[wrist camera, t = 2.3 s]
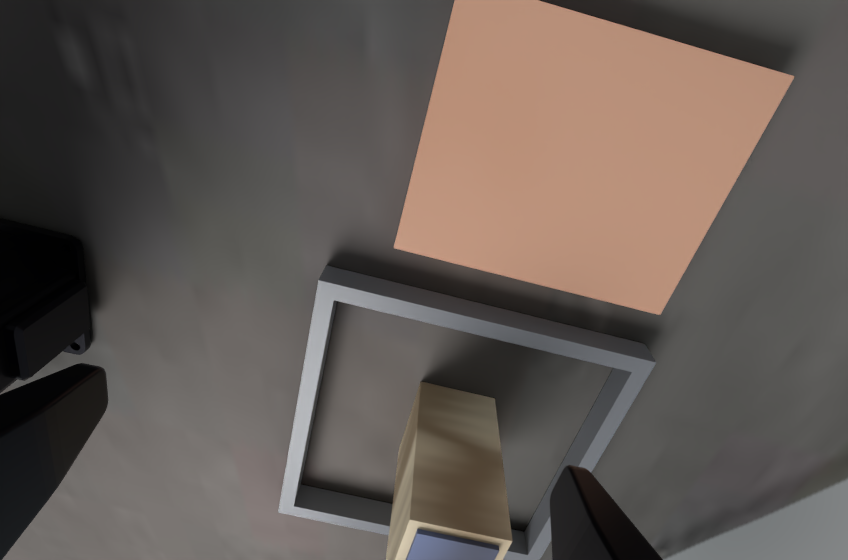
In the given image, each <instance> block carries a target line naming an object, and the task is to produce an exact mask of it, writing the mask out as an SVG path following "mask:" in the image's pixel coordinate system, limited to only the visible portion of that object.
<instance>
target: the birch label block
mask: <svg viewBox="0 0 848 560" xmlns="http://www.w3.org/2000/svg"><path fill="white" fill-rule="evenodd" d="M511 543H512V533H511V525H510V517H509V509H508V501H507V493H506V485H505V477H504V469H503V460H502V452H501V444H500V436H499V428H498V420H497V412H496V404H495V398H490V397H486V396H482V395H477V394H473V393H469V392H465V391H460V390H456V389H452V388H447V387H443V386H439V385H434V384H430V383H426V382H420V385H419V388H418V392H417V395H416V398H415V401H414V404H413V407H412V410H411V413H410V417H409V420H408V423H407V426H406V429H405V432H404V435H403V439H402V442H401V445H400V448H399V454H398V463H397V471H396V480H395V488H394V496H393V505H392V513H391V521H390V530H389V538H388V547H387V555H386V560H503V558H504V556H505V554H506V553H507V551H508V549H509V547H510V545H511Z"/></svg>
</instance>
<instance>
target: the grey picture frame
mask: <svg viewBox="0 0 848 560" xmlns="http://www.w3.org/2000/svg"><path fill="white" fill-rule="evenodd" d="M337 301H339V302H343V303H348V304H352V305H356V306H360V307H364V308H368V309H372V310H377V311H381V312H385V313H389V314H393V315H397V316H401V317H406V318H410V319H414V320H418V321H422V322H426V323H430V324H434V325H439V326H443V327H447V328H451V329H455V330H459V331H463V332H468V333H472V334H476V335H480V336H484V337H488V338H492V339H497V340H501V341H505V342H509V343H513V344H517V345H521V346H526V347H530V348H534V349H538V350H542V351H546V352H550V353H555V354H559V355H563V356H567V357H571V358H575V359H579V360H584V361H588V362H592V363H596V364H600V365H604V366H608V367H612V368H613V370H612V372H611V374H610V376H609V377H608V379H607V381H606V383H605V385H604V387H603V388H602V390H601V392H600V394H599V396H598V398H597V399H596V401H595V403H594V405H593V407H592V409H591V410H590V412H589V414H588V416H587V418H586V420H585V421H584V423H583V425H582V427H581V429H580V431H579V432H578V434H577V436H576V438H575V440H574V442H573V443H572V445H571V447H570V449H569V451H568V453H567V454H566V456H565V458H564V460H563V462H562V464H561V465H560V467H559V469H558V471H557V473H556V475H555V476H554V478H553V480H552V482H551V484H550V486H549V488H548V489H547V491H546V493H545V495H544V497H543V499H542V500H541V502H540V504H539V506H538V508H537V510H536V511H535V513H534V515H533V517H532V519H531V521H530V522H529V524H528V526H527V528H526V530H525V532H522V531H518V530H513V529H511V533H512V543H511V545H510V547H509V549H508V551H507V553H506V554H505V556H504V558H503V559H505V560H540V558H541V556H542V555H543V553H544V551H545V550H546V548H547V546H548V545H549V543H550V541H551V540H552V539H551V520H550V495H551V492H552V490H553V488H554V486H555V484H556V482H557V480H558V478H559V476H560V474H561V472H562V470H563V469H564V467H566V466H567V465H573V466H577V467H582V468H586V469H587V470H589V471H590V472H592V470H593V469H594V467H595V465H596V464H597V462H598V460H599V459H600V457H601V455H602V453H603V452H604V450H605V448H606V447H607V445H608V443H609V442H610V440H611V438H612V437H613V435H614V433H615V432H616V430H617V428H618V426H619V425H620V423H621V421H622V420H623V418H624V416H625V415H626V413H627V411H628V410H629V408H630V406H631V405H632V403H633V401H634V399H635V398H636V396H637V394H638V393H639V391H640V389H641V388H642V386H643V384H644V383H645V381H646V379H647V378H648V376H649V374H650V372H651V371H652V369H653V367H654V366H655V364H656V361H655V360H654V358H653V357H652V355H651V353H650V352H649V350H648V349H647V347H646V345H645V344H643V343H639V342H635V341H631V340H627V339H623V338H619V337H615V336H611V335H607V334H603V333H599V332H595V331H591V330H587V329H583V328H579V327H575V326H570V325H566V324H562V323H558V322H554V321H550V320H546V319H542V318H538V317H534V316H530V315H526V314H522V313H518V312H514V311H510V310H506V309H502V308H498V307H493V306H489V305H485V304H481V303H477V302H473V301H469V300H465V299H461V298H457V297H453V296H449V295H445V294H441V293H437V292H433V291H429V290H425V289H420V288H416V287H412V286H408V285H404V284H400V283H396V282H392V281H388V280H384V279H380V278H376V277H372V276H368V275H364V274H360V273H356V272H352V271H348V270H343V269H339V268H335V267H331V266H327V265H326V267H325V269H324V271H323V273H322V275H321V277H320V278H319V281H318V286H317V292H316V298H315V304H314V309H313V315H312V321H311V327H310V332H309V338H308V344H307V350H306V355H305V361H304V367H303V373H302V378H301V384H300V390H299V396H298V401H297V407H296V413H295V419H294V424H293V430H292V436H291V442H290V447H289V453H288V459H287V465H286V470H285V476H284V482H283V488H282V493H281V499H280V505H279V511H278V513H283V514H288V515H293V516H298V517H303V518H307V519H312V520H317V521H322V522H327V523H331V524H336V525H341V526H346V527H351V528H356V529H360V530H365V531H370V532H375V533H380V534H385V535H389V530H390V521H391V513H392V505H393V504H390V503H386V502H381V501H376V500H372V499H367V498H362V497H357V496H353V495H348V494H343V493H339V492H334V491H329V490H324V489H320V488H315V487H310V486H306V485H301V481H302V476H303V471H304V466H305V461H306V456H307V451H308V446H309V441H310V436H311V431H312V426H313V421H314V416H315V410H316V405H317V400H318V395H319V390H320V385H321V380H322V375H323V370H324V365H325V360H326V355H327V350H328V345H329V340H330V335H331V330H332V325H333V320H334V315H335V310H336V305H337Z"/></svg>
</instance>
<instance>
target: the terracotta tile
mask: <svg viewBox="0 0 848 560" xmlns="http://www.w3.org/2000/svg"><path fill="white" fill-rule="evenodd" d="M794 77H795V76H792V75H788V74H785V73H782V72H778V71H775V70H771V69H768V68H765V67H761V66H758V65H755V64H751V63H748V62H744V61H741V60H738V59H734V58H731V57H728V56H724V55H721V54H718V53H714V52H711V51H707V50H704V49H701V48H697V47H694V46H691V45H687V44H684V43H680V42H677V41H674V40H670V39H667V38H664V37H660V36H657V35H654V34H650V33H647V32H643V31H640V30H637V29H633V28H630V27H627V26H623V25H620V24H616V23H613V22H610V21H606V20H603V19H600V18H596V17H593V16H590V15H586V14H583V13H579V12H576V11H573V10H569V9H566V8H563V7H559V6H556V5H552V4H549V3H546V2H542V1H539V0H455V1H454V5H453V9H452V14H451V18H450V22H449V26H448V30H447V34H446V38H445V42H444V46H443V50H442V54H441V58H440V62H439V66H438V70H437V74H436V78H435V82H434V86H433V91H432V95H431V99H430V103H429V107H428V111H427V115H426V119H425V123H424V127H423V131H422V135H421V139H420V143H419V147H418V151H417V155H416V159H415V164H414V168H413V172H412V176H411V180H410V184H409V188H408V192H407V196H406V200H405V204H404V208H403V212H402V216H401V220H400V224H399V228H398V232H397V237H396V241H395V245H394V248H395V249H399V250H403V251H407V252H411V253H415V254H419V255H423V256H427V257H431V258H435V259H439V260H443V261H447V262H451V263H455V264H459V265H463V266H467V267H471V268H475V269H479V270H483V271H487V272H491V273H495V274H499V275H503V276H507V277H510V278H514V279H518V280H522V281H526V282H530V283H534V284H538V285H542V286H546V287H550V288H554V289H558V290H562V291H566V292H570V293H574V294H578V295H582V296H586V297H590V298H594V299H598V300H602V301H606V302H610V303H614V304H618V305H622V306H626V307H630V308H634V309H638V310H641V311H645V312H649V313H653V314H657V315H660V314H661V312H662V311H663V309H664V307H665V305H666V303H667V302H668V300H669V298H670V296H671V295H672V293H673V291H674V289H675V288H676V286H677V284H678V282H679V280H680V279H681V277H682V275H683V273H684V272H685V270H686V268H687V266H688V265H689V263H690V261H691V259H692V257H693V256H694V254H695V252H696V250H697V249H698V247H699V245H700V243H701V242H702V240H703V238H704V236H705V234H706V233H707V231H708V229H709V227H710V226H711V224H712V222H713V220H714V219H715V217H716V215H717V213H718V211H719V210H720V208H721V206H722V204H723V203H724V201H725V199H726V197H727V195H728V194H729V192H730V190H731V188H732V187H733V185H734V183H735V181H736V180H737V178H738V176H739V174H740V172H741V171H742V169H743V167H744V165H745V164H746V162H747V160H748V158H749V157H750V155H751V153H752V151H753V149H754V148H755V146H756V144H757V142H758V141H759V139H760V137H761V135H762V134H763V132H764V130H765V128H766V126H767V125H768V123H769V121H770V119H771V118H772V116H773V114H774V112H775V111H776V109H777V107H778V105H779V103H780V102H781V100H782V98H783V96H784V95H785V93H786V91H787V89H788V87H789V86H790V84H791V82H792V80H793V79H794Z"/></svg>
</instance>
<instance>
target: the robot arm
mask: <svg viewBox="0 0 848 560" xmlns="http://www.w3.org/2000/svg"><path fill="white" fill-rule="evenodd" d="M66 244H67V245H69V246H70V247H71V250H70V249H69V248H68V247H67V245H66ZM89 328H90V316H89V303H88V290H87V286H86V279H85V266H84V254H83V246H82V244H81V242H80V241H79V240H78V239H77V238H75V237H73V236H70V235H66V234H62V233H58V232H54V231H50V230H46V229H41V228H37V227H33V226H29V225H25V224H21V223H17V222H13V221H8V220H4V219H0V393H1V392H2V391H3V390H5V389H6V388H7V387H8V386H10V385H11V384H12V383H13V382H14V381H16V380H17V379H19V380H24V381H25V380H27V379H28V378H30V377H32V376H33V375H34V374H35V373H37V372H38V371H39V370H40V369H41V368H43V367H44V366H45V365H46V364H47V363H49V362H50V361H51V360H52V359H53V358H55V357H56V356H57V355H58V354H60V353H61V352H62V351H64V352H68V353H72V354H79V355H80V354H83V353H84V352H85V351H86V350H88V349H89V348H90V345H91V343H90V330H89ZM77 343H78V344H79V345H78V344H77ZM107 405H108V391H107V380H106V372H105V370H104V369H103V368H101V367H99V366H94V365H89V364H84V363H80V364H76V365H73V366H71V367H68V368H66V369H63V370H61V371H58V372H56V373H53V374H51V375H48V376H46V377H43V378H41V379H38V380H36V381H33V382H31V383H28V384H26V385H23V386H21V387H18V388H16V389H13V390H11V391H8V392H6V393H3V394H1V395H0V560H2V559H3V558H4V556H5V555H6V554H7V552H8V551H9V550H10V548H11V547H12V546H13V545H14V543H15V542H16V541H17V539H18V538H19V537H20V536H21V534H22V533H23V532H24V530H25V529H26V528H27V527H28V525H29V524H30V523H31V521H32V520H33V519H34V518H35V516H36V515H37V514H38V512H39V511H40V510H41V508H42V507H43V506H44V505H45V503H46V502H47V501H48V499H49V498H50V497H51V495H52V494H53V493H54V491H55V490H56V489H57V487H58V486H59V484H60V483H61V481H62V480H63V478H64V477H65V475H66V474H67V472H68V470H69V469H70V467H71V466H72V464H73V462H74V461H75V459H76V458H77V456H78V454H79V453H80V451H81V450H82V448H83V446H84V445H85V443H86V442H87V440H88V438H89V437H90V435H91V434H92V432H93V430H94V429H95V427H96V426H97V424H98V422H99V421H100V419H101V418H102V416H103V414H104V413H105V411H106V408H107ZM550 520H551V539H552V558H553V560H663V559H662V558H661V557H660V556H659V555H658V553H657V552H656V551H655V550H654V549H653V547H652V546H651V545H650V544H649V542H648V541H647V540H646V539H645V538H644V536H643V535H642V534H641V533H640V532H639V530H638V529H637V528H636V527H635V526H634V524H633V523H632V522H631V521H630V519H629V518H628V517H627V516H626V515H625V513H624V512H623V511H622V510H621V509H620V507H619V506H618V505H617V504H616V503H615V501H614V500H613V499H612V498H611V496H610V495H609V494H608V493H607V492H606V490H605V489H604V488H603V487H602V486H601V484H600V483H599V482H598V481H597V480H596V478H595V477H594V476H593V475H592V473H591V472H590V471H589V470H587V469H586V468H582V467H577V466H573V465H567V466H566V467H564V469H563V470H562V472H561V474H560V476H559V478H558V480H557V482H556V484H555V486H554V488H553V490H552V492H551V495H550Z"/></svg>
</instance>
